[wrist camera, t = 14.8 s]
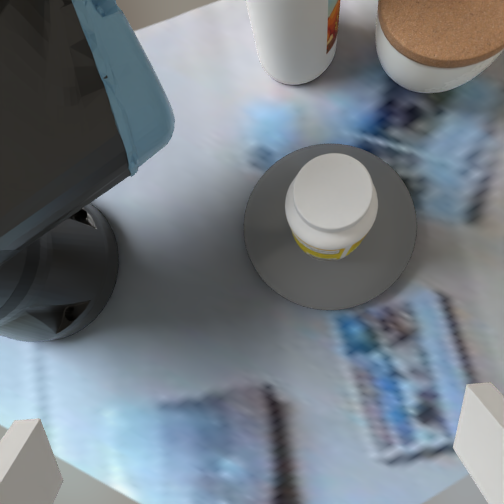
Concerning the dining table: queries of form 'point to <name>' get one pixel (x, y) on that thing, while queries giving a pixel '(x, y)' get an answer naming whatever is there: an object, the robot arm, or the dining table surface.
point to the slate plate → (339, 271)
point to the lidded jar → (438, 41)
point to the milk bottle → (294, 37)
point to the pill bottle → (331, 206)
